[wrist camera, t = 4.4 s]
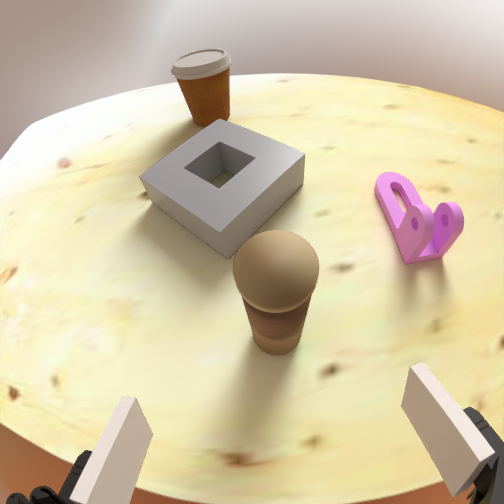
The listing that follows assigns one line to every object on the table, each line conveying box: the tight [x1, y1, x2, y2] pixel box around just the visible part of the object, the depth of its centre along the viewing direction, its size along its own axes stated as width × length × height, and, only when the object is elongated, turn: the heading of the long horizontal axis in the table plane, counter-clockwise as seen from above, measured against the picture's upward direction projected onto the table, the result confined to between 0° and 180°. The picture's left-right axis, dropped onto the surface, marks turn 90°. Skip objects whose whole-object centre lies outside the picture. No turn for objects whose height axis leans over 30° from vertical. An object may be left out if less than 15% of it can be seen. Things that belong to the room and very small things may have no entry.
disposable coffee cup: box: [171, 48, 232, 127], centre depth 41 cm, size 10×10×12 cm
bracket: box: [374, 172, 464, 264], centre depth 29 cm, size 13×6×7 cm, turn 6°
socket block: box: [139, 119, 305, 259], centre depth 34 cm, size 14×14×5 cm
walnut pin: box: [233, 230, 319, 355], centre depth 21 cm, size 5×5×13 cm
